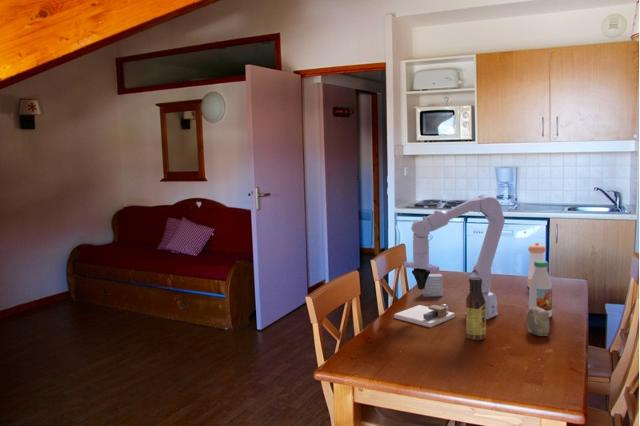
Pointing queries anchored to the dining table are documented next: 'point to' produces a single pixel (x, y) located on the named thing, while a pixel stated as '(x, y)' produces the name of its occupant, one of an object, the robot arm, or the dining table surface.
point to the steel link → (434, 313)
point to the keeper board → (417, 313)
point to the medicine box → (433, 285)
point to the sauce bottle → (475, 310)
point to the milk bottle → (541, 288)
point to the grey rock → (538, 321)
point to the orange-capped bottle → (535, 258)
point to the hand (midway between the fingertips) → (421, 288)
